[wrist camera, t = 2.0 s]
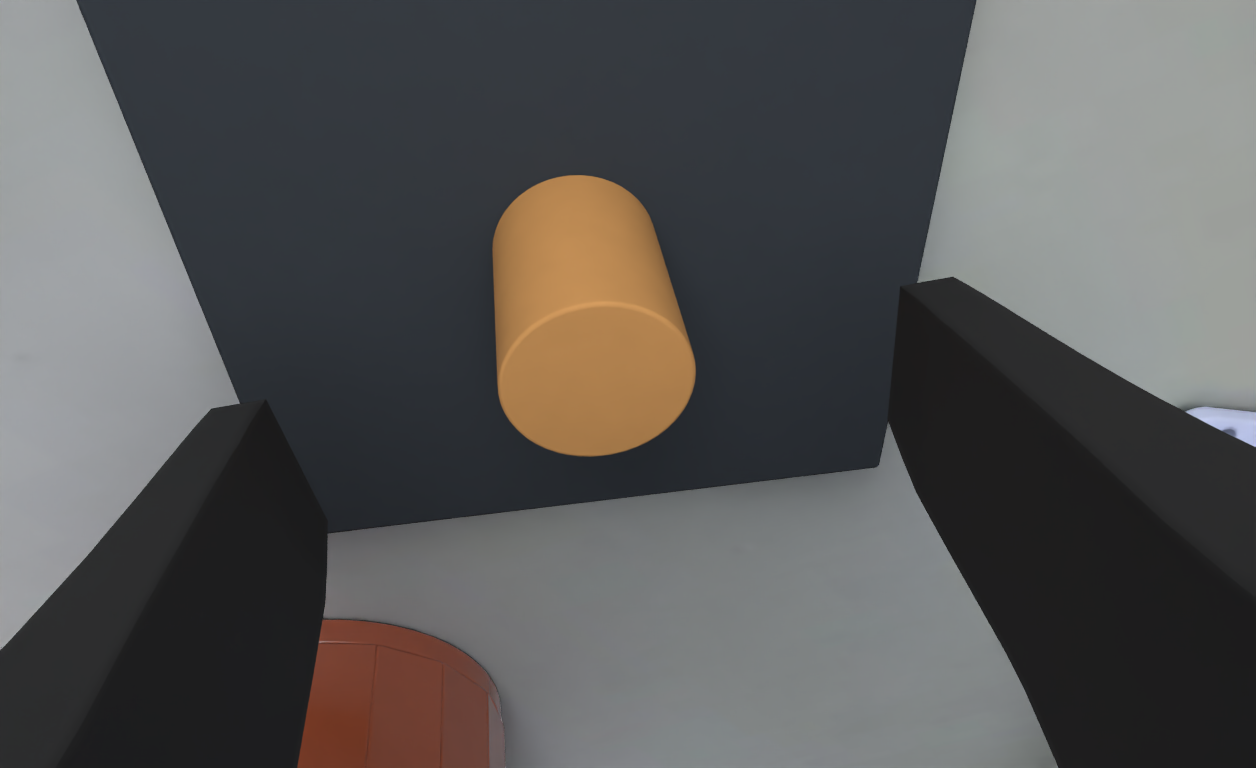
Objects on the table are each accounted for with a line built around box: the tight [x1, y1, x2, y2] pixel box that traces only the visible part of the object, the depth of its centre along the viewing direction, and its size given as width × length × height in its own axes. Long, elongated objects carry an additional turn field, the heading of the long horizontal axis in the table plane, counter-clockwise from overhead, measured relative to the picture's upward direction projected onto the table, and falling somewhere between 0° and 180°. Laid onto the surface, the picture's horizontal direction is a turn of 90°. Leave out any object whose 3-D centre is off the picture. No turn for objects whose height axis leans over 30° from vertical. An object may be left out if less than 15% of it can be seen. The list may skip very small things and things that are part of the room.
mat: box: [77, 0, 976, 533], centre depth 12 cm, size 11×11×4 cm
